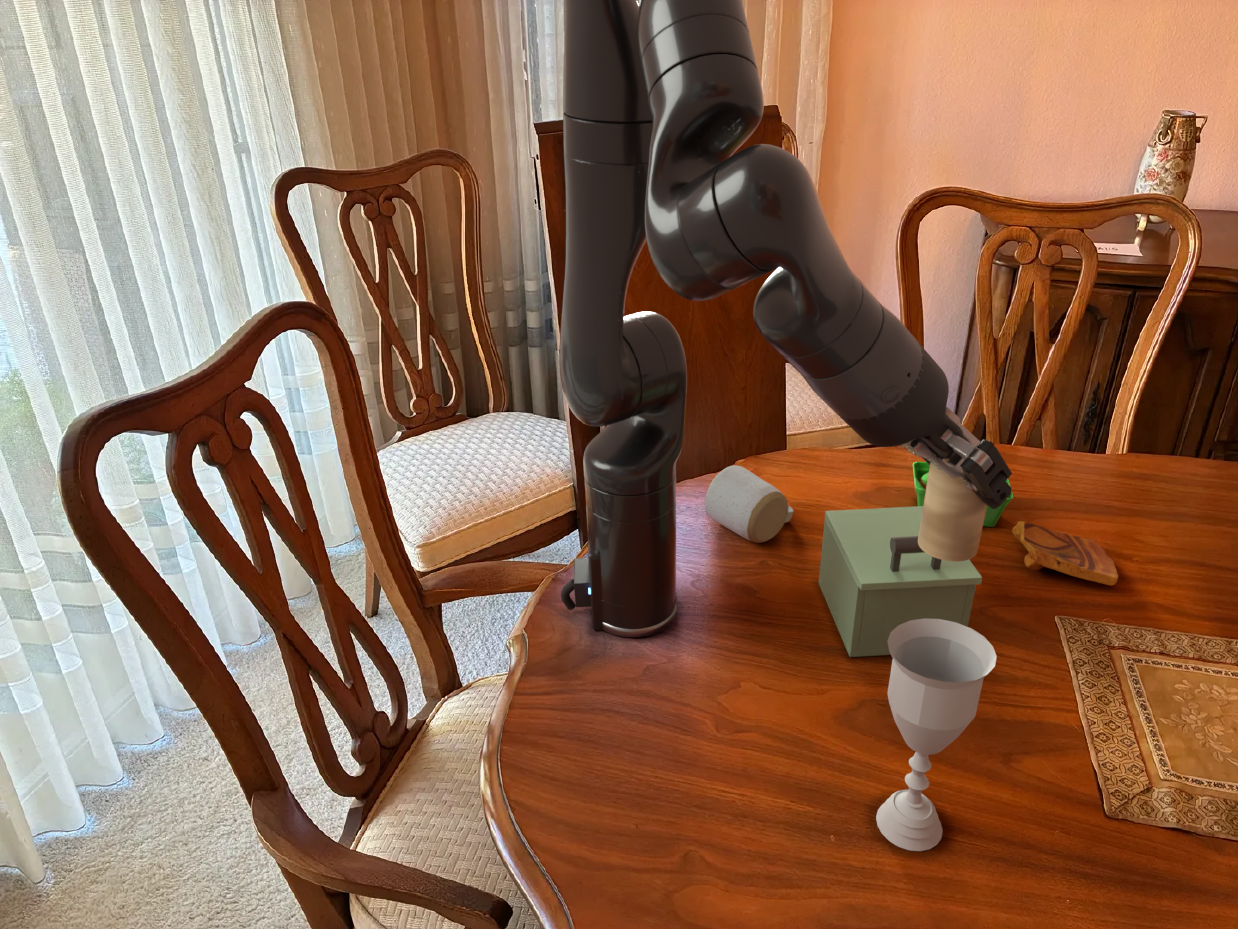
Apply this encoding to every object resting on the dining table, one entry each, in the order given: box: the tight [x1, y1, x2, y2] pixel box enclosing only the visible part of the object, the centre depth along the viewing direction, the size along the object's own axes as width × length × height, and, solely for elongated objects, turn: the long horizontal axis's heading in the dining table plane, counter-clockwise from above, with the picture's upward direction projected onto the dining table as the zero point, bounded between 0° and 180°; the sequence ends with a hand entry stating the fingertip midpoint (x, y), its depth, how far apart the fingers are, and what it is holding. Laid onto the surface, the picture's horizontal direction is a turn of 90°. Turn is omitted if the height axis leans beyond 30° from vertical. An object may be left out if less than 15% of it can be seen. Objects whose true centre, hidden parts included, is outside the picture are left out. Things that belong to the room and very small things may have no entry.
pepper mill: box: [918, 452, 987, 561], centre depth 70 cm, size 5×5×10 cm
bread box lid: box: [824, 505, 983, 591], centre depth 86 cm, size 13×12×4 cm
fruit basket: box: [912, 461, 1014, 528], centre depth 106 cm, size 11×9×11 cm
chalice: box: [875, 619, 998, 852], centre depth 64 cm, size 7×7×18 cm
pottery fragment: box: [1011, 520, 1119, 586], centre depth 98 cm, size 10×5×10 cm
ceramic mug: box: [704, 464, 794, 544], centre depth 107 cm, size 11×8×8 cm
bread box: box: [818, 517, 977, 658], centre depth 90 cm, size 13×12×9 cm
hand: (975, 483), depth 71 cm, fingers closed on pepper mill, 5 cm apart
